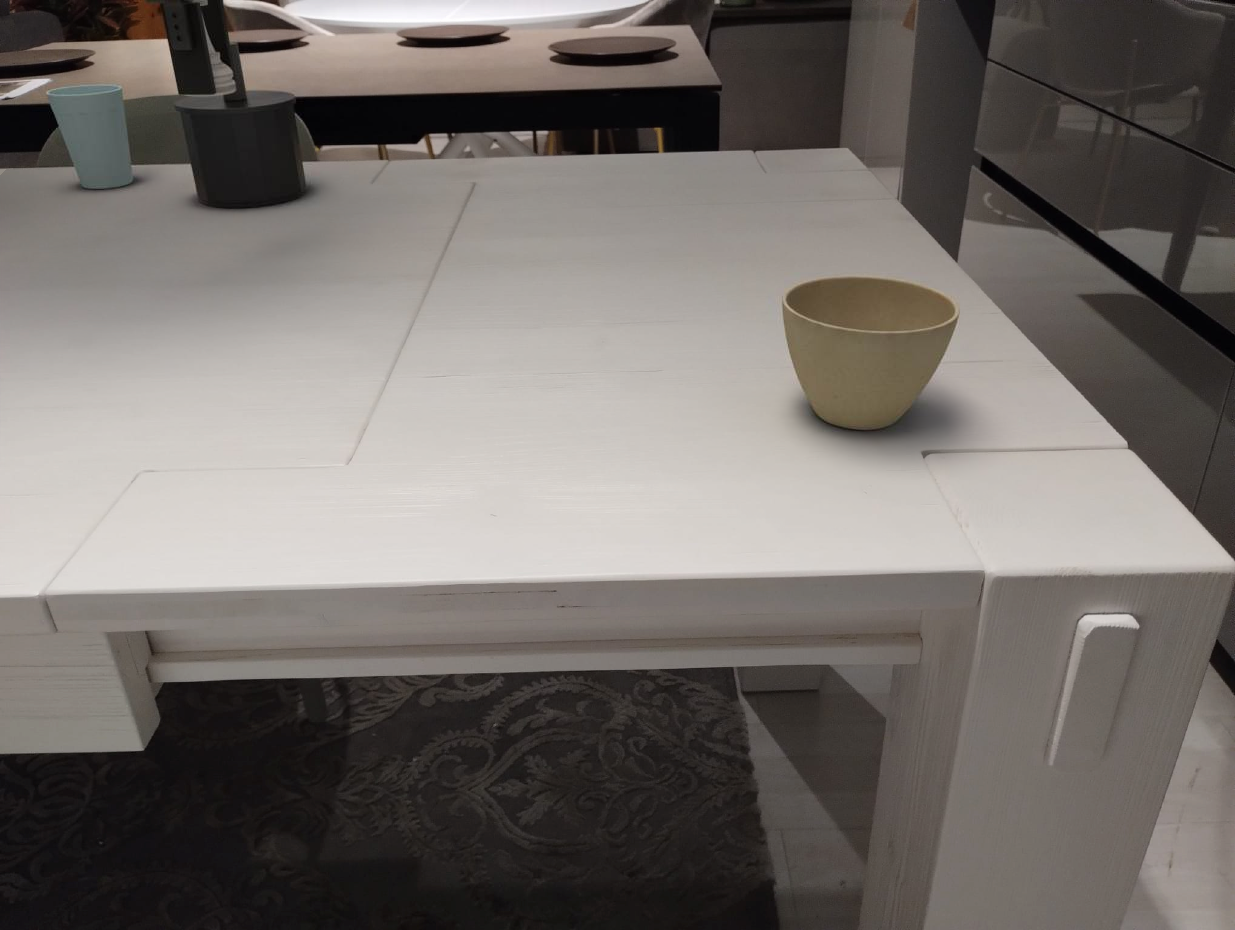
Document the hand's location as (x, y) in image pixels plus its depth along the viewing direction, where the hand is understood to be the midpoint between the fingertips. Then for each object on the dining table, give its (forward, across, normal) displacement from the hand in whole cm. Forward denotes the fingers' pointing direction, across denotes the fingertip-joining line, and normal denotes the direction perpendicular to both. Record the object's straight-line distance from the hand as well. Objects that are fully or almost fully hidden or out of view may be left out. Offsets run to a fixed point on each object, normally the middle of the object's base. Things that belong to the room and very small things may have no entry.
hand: (208, 88), depth 82 cm
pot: (+15, +26, +7) cm, 31 cm away
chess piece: (0, 0, 0) cm, 0 cm away
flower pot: (+14, -31, -47) cm, 58 cm away
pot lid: (+6, +27, +7) cm, 28 cm away
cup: (+16, +33, +26) cm, 45 cm away
